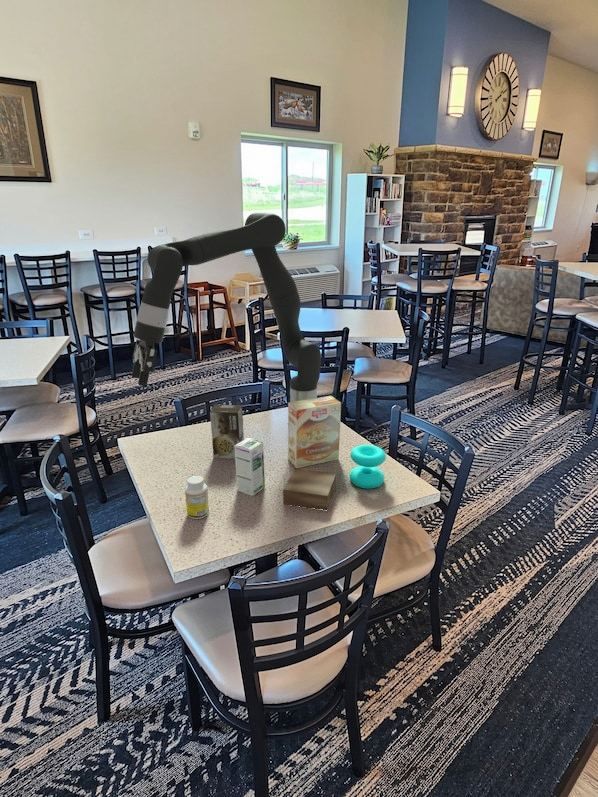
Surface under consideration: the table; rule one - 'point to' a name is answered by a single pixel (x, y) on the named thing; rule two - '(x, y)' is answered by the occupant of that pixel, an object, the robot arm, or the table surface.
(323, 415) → the coffeecake box
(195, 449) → the table surface
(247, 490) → the syrup box
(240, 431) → the coffee box
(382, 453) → the donuts
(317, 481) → the walnut riser
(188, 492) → the supplement bottle
